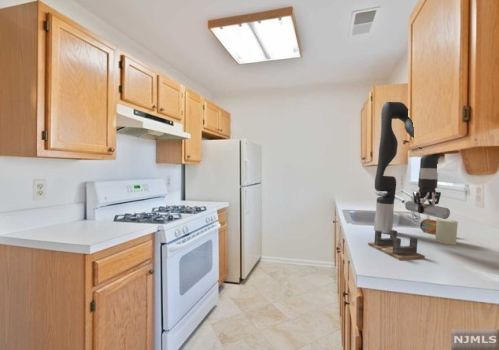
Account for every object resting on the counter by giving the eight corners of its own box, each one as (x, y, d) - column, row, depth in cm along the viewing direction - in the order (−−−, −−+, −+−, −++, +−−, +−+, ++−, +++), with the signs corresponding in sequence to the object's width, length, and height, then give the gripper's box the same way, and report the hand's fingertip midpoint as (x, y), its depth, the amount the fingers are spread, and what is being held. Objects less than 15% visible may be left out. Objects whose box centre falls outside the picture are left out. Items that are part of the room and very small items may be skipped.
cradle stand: (367, 245, 131) (368, 229, 130) (390, 244, 133) (391, 228, 133) (398, 260, 111) (399, 241, 111) (424, 258, 114) (425, 240, 113)
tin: (419, 231, 161) (420, 217, 161) (421, 230, 163) (422, 217, 162) (448, 237, 149) (449, 223, 148) (450, 237, 150) (451, 222, 150)
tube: (404, 210, 136) (405, 200, 136) (413, 210, 137) (414, 200, 137) (439, 219, 117) (441, 207, 117) (449, 219, 118) (450, 207, 118)
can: (457, 245, 134) (459, 222, 133) (435, 242, 139) (437, 219, 138) (455, 241, 142) (456, 219, 141) (434, 238, 147) (435, 216, 146)
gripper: (433, 177, 131) (431, 211, 132) (408, 177, 128) (406, 211, 129) (447, 178, 124) (445, 214, 125) (422, 178, 121) (419, 215, 122)
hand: (425, 213), depth 127 cm, fingers closed on tube, 5 cm apart
